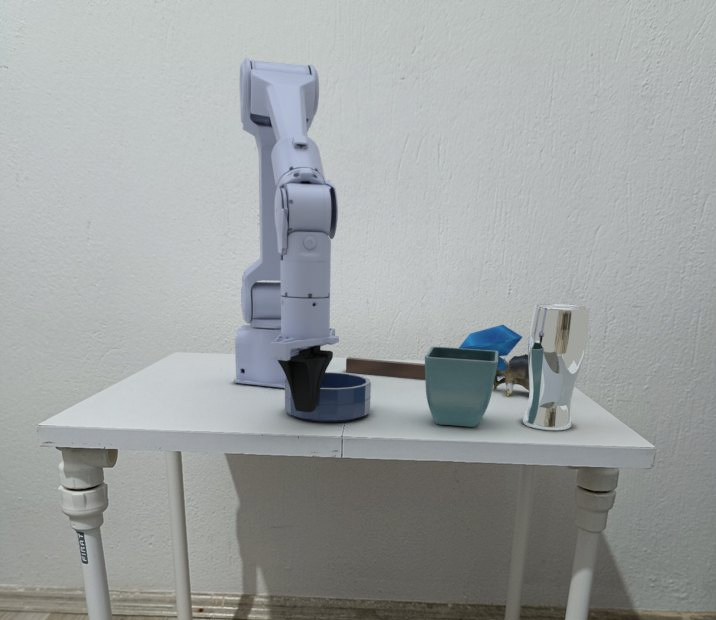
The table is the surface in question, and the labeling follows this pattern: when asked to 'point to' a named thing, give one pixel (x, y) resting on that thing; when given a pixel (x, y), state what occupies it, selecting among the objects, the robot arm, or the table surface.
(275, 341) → the robot arm
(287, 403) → the bowl
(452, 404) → the flower pot
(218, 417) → the table surface
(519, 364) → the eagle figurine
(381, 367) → the rail
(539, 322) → the beer glass
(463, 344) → the crystal
